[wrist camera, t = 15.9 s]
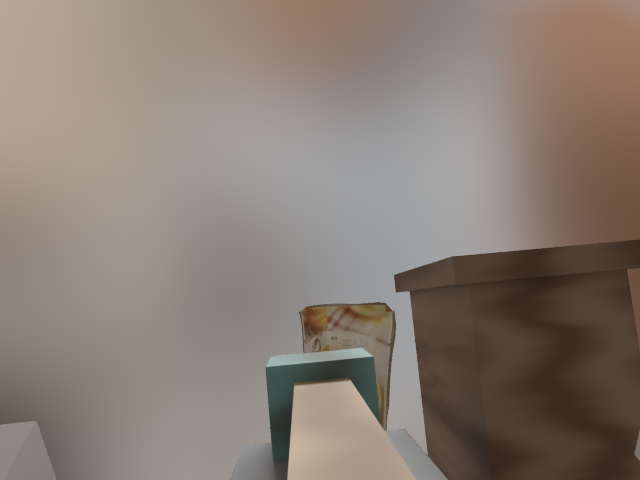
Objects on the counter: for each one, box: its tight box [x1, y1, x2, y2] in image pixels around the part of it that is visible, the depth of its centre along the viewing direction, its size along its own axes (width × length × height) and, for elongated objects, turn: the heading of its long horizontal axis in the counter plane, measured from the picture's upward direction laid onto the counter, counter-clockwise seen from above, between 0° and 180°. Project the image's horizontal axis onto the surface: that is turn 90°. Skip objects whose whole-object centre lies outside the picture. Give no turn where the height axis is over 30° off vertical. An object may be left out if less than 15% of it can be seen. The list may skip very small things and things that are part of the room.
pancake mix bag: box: [299, 302, 396, 431], centre depth 65 cm, size 7×19×28 cm, turn 27°
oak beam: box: [266, 348, 417, 480], centre depth 21 cm, size 6×30×5 cm, turn 2°
